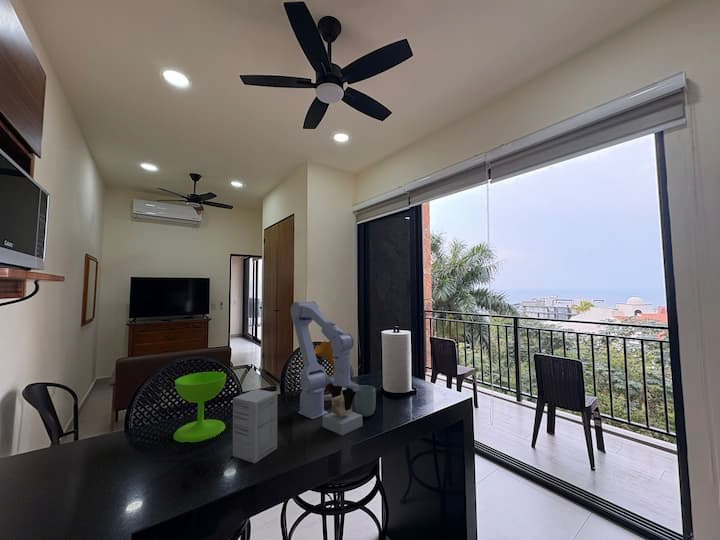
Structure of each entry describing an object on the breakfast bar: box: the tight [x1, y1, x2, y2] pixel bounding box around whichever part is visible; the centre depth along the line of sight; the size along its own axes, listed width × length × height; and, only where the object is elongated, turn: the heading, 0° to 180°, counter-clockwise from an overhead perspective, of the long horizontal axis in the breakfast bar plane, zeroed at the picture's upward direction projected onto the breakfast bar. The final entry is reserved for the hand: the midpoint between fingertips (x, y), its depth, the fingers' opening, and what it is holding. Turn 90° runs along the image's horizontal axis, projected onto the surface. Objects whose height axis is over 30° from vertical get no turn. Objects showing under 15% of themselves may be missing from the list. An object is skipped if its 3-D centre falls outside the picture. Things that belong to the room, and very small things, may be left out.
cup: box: [354, 384, 377, 418], centre depth 121 cm, size 8×8×10 cm
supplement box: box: [232, 388, 278, 464], centre depth 94 cm, size 10×9×17 cm
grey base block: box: [322, 411, 363, 436], centre depth 111 cm, size 10×10×4 cm
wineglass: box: [172, 371, 227, 443], centre depth 108 cm, size 16×16×18 cm
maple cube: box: [331, 395, 353, 417], centre depth 111 cm, size 5×5×5 cm
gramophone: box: [314, 340, 346, 402], centre depth 148 cm, size 20×20×25 cm
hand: (342, 407), depth 112 cm, fingers closed on maple cube, 5 cm apart
